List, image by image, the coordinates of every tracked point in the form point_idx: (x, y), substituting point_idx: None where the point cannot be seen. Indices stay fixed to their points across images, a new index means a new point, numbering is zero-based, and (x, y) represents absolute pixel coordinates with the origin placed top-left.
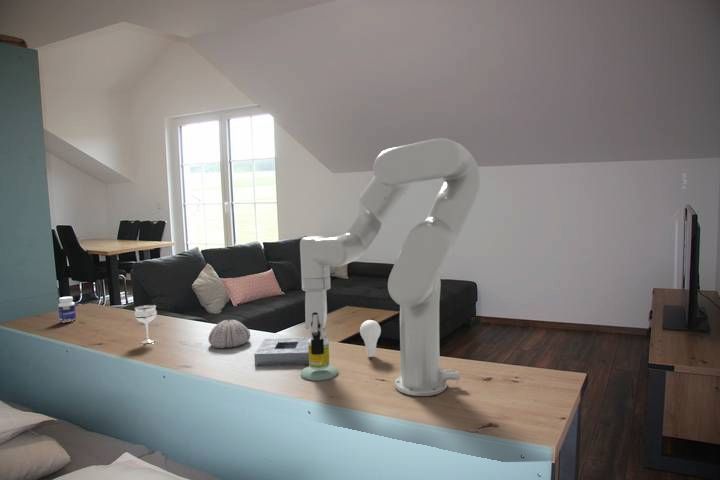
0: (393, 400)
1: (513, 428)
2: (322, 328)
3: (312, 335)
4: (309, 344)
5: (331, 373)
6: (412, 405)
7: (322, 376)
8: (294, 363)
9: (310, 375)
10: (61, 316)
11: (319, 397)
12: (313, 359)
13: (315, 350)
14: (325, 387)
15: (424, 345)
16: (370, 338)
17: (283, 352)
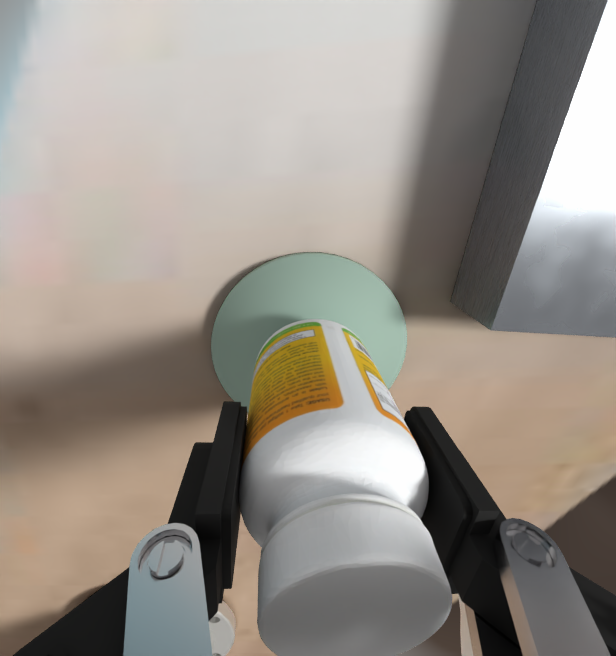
0: (36, 572)
1: None
2: (478, 629)
3: (128, 610)
4: (287, 426)
5: None
6: (8, 607)
7: (238, 370)
8: (483, 205)
9: (258, 312)
10: None
11: (6, 359)
12: (257, 377)
13: (194, 454)
14: (132, 379)
15: None
16: (463, 632)
17: (587, 110)
